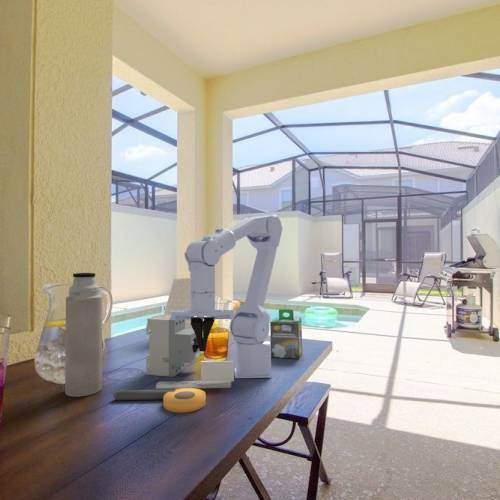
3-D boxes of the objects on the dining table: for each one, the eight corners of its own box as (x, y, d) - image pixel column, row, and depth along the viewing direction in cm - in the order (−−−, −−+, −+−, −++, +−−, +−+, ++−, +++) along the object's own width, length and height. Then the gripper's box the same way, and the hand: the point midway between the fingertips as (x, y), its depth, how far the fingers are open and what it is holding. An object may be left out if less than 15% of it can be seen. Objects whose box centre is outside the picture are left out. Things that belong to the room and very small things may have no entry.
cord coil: (207, 395, 85) (207, 387, 85) (204, 411, 76) (204, 402, 76) (167, 396, 85) (167, 388, 85) (159, 413, 76) (159, 403, 76)
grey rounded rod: (178, 397, 84) (178, 388, 84) (176, 400, 82) (176, 391, 82) (115, 398, 84) (115, 389, 84) (112, 401, 82) (112, 392, 82)
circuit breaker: (196, 378, 98) (196, 320, 98) (146, 374, 100) (146, 319, 101) (205, 369, 105) (205, 316, 105) (158, 366, 108) (158, 314, 108)
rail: (231, 384, 93) (231, 380, 93) (231, 387, 90) (231, 383, 90) (157, 385, 92) (157, 381, 92) (155, 389, 89) (155, 385, 89)
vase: (154, 341, 139) (155, 280, 140) (172, 332, 156) (172, 277, 157) (199, 343, 136) (199, 280, 137) (212, 333, 154) (212, 277, 154)
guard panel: (233, 380, 92) (233, 360, 92) (233, 381, 91) (233, 361, 91) (201, 380, 91) (201, 361, 92) (201, 381, 91) (201, 362, 91)
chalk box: (302, 352, 124) (302, 307, 124) (299, 359, 115) (299, 311, 115) (275, 350, 126) (274, 306, 126) (269, 357, 117) (269, 310, 117)
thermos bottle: (83, 383, 94) (83, 271, 94) (109, 386, 91) (109, 272, 92) (57, 394, 86) (58, 273, 87) (84, 398, 84) (85, 273, 84)
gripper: (168, 294, 83) (168, 355, 82) (233, 293, 83) (233, 354, 83) (173, 291, 90) (173, 347, 90) (233, 290, 90) (234, 346, 90)
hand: (202, 350), depth 87 cm, fingers closed
